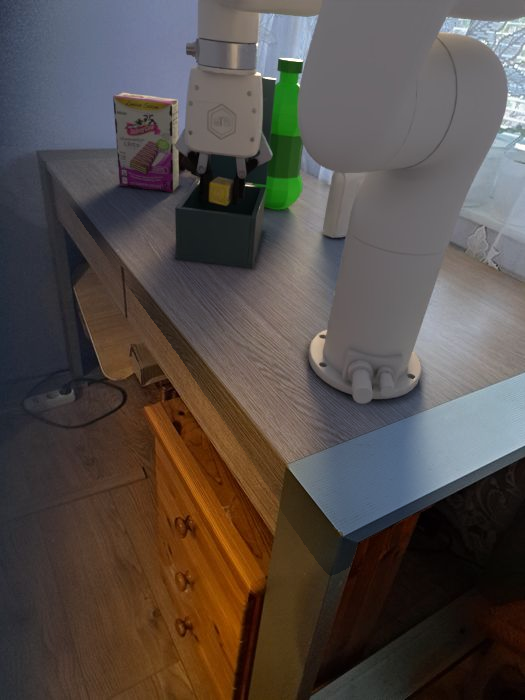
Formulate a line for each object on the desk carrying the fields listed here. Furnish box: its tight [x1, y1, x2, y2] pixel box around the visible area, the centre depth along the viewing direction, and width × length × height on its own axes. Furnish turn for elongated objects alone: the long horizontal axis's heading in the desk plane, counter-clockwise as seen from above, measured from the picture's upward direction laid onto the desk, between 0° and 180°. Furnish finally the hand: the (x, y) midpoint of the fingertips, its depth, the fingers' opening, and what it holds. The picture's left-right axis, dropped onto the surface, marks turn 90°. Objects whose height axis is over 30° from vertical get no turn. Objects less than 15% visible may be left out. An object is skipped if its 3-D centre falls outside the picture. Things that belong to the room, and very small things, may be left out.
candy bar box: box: [112, 92, 180, 193], centre depth 94 cm, size 11×5×16 cm, turn 84°
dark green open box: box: [174, 178, 266, 269], centre depth 76 cm, size 15×12×8 cm
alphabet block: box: [209, 177, 234, 206], centre depth 71 cm, size 3×3×3 cm
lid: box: [195, 76, 277, 185], centre depth 77 cm, size 15×12×6 cm
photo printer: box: [322, 171, 367, 239], centre depth 84 cm, size 10×4×12 cm, turn 124°
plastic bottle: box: [251, 57, 304, 211], centre depth 89 cm, size 10×10×25 cm
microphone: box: [178, 151, 214, 180], centre depth 105 cm, size 6×6×20 cm
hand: (222, 199), depth 72 cm, fingers closed on alphabet block, 3 cm apart
